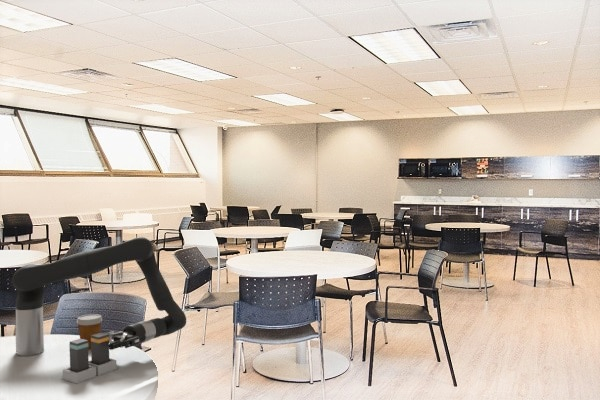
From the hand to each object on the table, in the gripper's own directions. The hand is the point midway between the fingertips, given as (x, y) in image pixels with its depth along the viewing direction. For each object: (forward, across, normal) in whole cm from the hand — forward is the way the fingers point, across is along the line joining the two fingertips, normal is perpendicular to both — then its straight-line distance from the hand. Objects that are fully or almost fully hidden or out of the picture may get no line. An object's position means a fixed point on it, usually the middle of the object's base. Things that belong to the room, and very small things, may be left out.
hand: (101, 344), depth 180 cm
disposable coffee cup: (-15, -28, +10) cm, 34 cm away
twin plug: (+8, 0, +8) cm, 12 cm away
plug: (0, 0, +8) cm, 9 cm away
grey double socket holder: (+4, 0, +10) cm, 11 cm away
